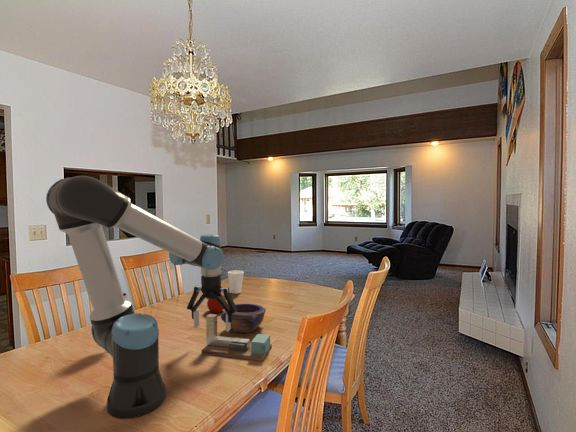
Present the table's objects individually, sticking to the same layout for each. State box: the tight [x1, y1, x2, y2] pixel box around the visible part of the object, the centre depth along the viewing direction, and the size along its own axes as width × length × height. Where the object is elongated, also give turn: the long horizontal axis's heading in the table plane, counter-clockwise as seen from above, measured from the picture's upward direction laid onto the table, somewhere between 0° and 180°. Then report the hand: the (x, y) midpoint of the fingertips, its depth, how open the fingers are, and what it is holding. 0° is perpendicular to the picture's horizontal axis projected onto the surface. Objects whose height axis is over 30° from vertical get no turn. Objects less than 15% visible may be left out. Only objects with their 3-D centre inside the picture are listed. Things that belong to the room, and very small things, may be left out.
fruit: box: [206, 296, 227, 314], centre depth 166 cm, size 10×10×10 cm
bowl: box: [220, 303, 266, 334], centre depth 142 cm, size 18×18×10 cm
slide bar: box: [205, 313, 251, 350], centre depth 123 cm, size 3×17×11 cm, turn 76°
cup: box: [227, 269, 245, 295], centre depth 199 cm, size 10×10×13 cm
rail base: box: [201, 336, 273, 362], centre depth 122 cm, size 11×24×4 cm, turn 76°
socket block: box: [250, 333, 271, 355], centre depth 120 cm, size 7×5×4 cm
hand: (212, 328), depth 125 cm, fingers open, 13 cm apart
